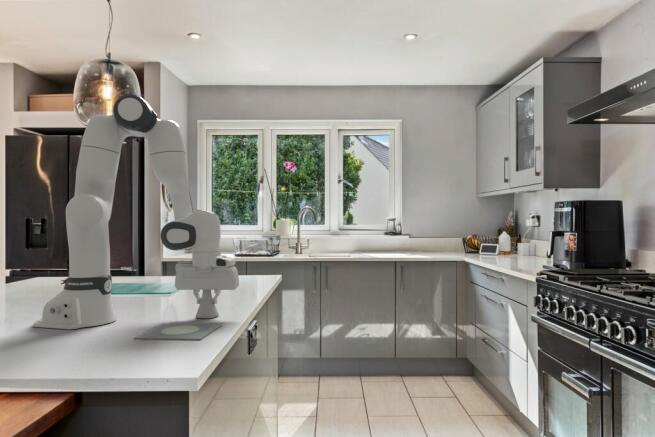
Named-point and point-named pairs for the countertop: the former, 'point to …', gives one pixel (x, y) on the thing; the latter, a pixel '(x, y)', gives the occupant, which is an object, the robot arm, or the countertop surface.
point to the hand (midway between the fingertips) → (207, 303)
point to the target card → (179, 332)
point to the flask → (207, 306)
